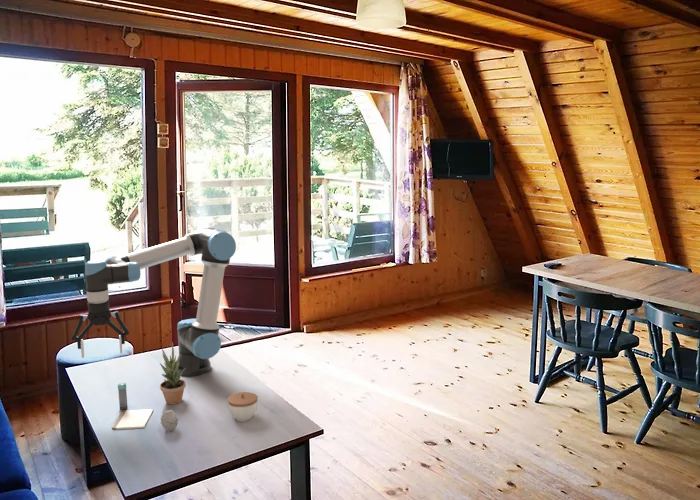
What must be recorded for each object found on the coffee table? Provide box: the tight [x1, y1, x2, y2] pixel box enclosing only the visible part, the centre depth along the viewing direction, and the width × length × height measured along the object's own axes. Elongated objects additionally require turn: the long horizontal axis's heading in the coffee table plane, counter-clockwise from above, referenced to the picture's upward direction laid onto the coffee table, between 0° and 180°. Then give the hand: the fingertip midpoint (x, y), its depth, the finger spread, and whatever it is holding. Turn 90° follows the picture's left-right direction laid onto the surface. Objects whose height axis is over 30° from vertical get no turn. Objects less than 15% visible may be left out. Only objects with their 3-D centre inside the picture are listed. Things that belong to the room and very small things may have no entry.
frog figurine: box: [160, 409, 179, 432], centre depth 208 cm, size 6×7×7 cm
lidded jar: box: [227, 391, 258, 422], centre depth 217 cm, size 11×11×9 cm
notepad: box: [111, 408, 154, 430], centre depth 216 cm, size 11×14×1 cm
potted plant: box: [159, 341, 186, 405], centre depth 230 cm, size 10×10×25 cm
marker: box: [117, 382, 129, 412], centre depth 224 cm, size 3×3×10 cm
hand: (102, 354), depth 228 cm, fingers open, 13 cm apart
